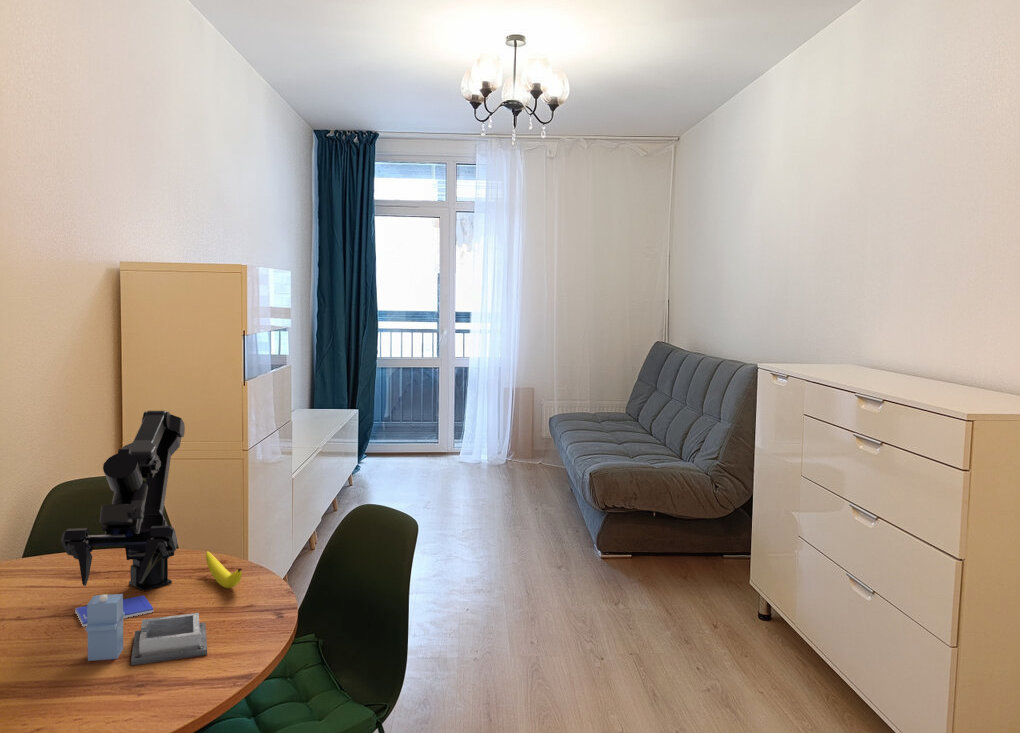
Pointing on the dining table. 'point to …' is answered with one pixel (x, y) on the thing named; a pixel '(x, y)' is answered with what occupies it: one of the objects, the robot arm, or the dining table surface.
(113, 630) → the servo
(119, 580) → the dining table surface
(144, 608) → the hard drive
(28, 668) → the dining table surface
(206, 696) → the dining table surface
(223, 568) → the banana
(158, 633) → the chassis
